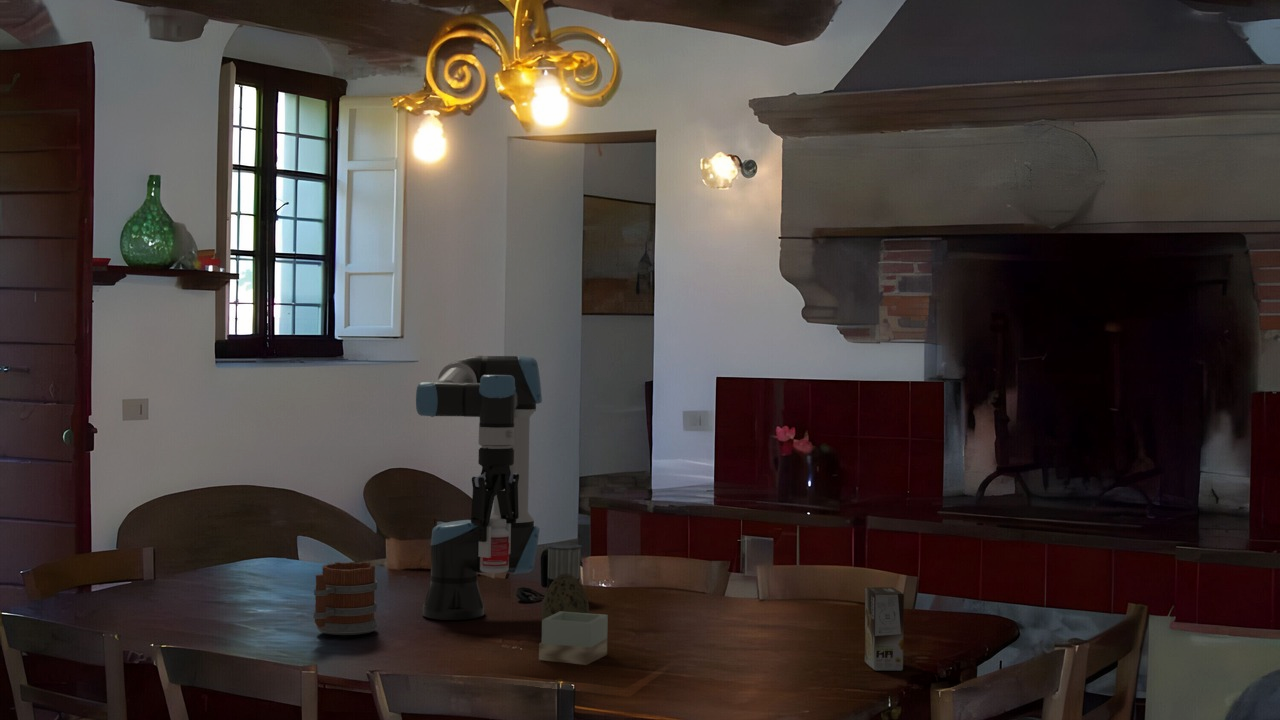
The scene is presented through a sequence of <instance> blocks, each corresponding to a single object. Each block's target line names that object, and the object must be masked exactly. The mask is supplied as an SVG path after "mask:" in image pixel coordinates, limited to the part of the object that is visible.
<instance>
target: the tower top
mask: <svg viewBox="0 0 1280 720" xmlns="http://www.w3.org/2000/svg"><path fill="white" fill-rule="evenodd" d="M608 619H609V616H608V614H600V613H590V612H589V613H577V612H563V611H560V612H558V613H555V614H553V615H551V616H549V617H547V618H545V619H543V620H542V619H541V642H542V644H553V645H565V646H577V647H589V648H591V647H593V646H595V645H596V644H598V643H600V642H601V641H603V640H605V639H606V638H607V639H608V629H609V628H608V625H609V624H608V623H609V621H608Z"/></svg>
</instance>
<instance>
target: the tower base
mask: <svg viewBox="0 0 1280 720" xmlns="http://www.w3.org/2000/svg"><path fill="white" fill-rule="evenodd" d="M607 655H608V637H607V638H606V639H605V640H603V641H601V642H600V643H598V644H596V645H595V646H593V647H591V648H589V647H577V646H565V645H553V644H542V641H541V642H539V643H538V660H539V661H546V662H556V663H563V664H564V663H565V664H567V663H568V664H575V665H585V666H587V665H590V664H591V663H593V662H595V661H597V660H600V659H601V658H604V657H605V656H607Z"/></svg>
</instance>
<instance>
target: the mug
mask: <svg viewBox="0 0 1280 720" xmlns="http://www.w3.org/2000/svg"><path fill="white" fill-rule="evenodd" d="M321 573H322V574H316V575H315V588H314V591H313V595H314V596H315V597H314V598H315V605H314V606H315V609H314V610H315V611H313V619H314V623H315V625H316V626H317V627H316V628H317V630H318V632H320V633H322V634H327V635H333V636H353V635H354V636H355V635H363V634H369V633H372V632H375V631H376V630H377V629H379V625H378V623H377V621H376V619H375V613H376V612H377V609H378V608H377V607H378V605H377V603H378V602H376V601H375V591H376V590H377V589H378V580H377V579H376V578H375V577H376V576H375V575H376V565H375V564H374V563H371V562H367V561H362V562H354V561H349V562H339V561H336V562H334V563H329V564H324V565H323V566H322V572H321Z"/></svg>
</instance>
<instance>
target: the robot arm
mask: <svg viewBox="0 0 1280 720" xmlns="http://www.w3.org/2000/svg"><path fill="white" fill-rule="evenodd" d="M541 385H542V384H541V377H540V369H539V364H538V361H537V359H535V358H534V357H532V356H521V355H511V356H510V355H472V356H471V355H470V356H467V357H463V358H460V359H457V360H454V361H452V362H450V363H448V364H447V365H445V366H444V367H443V368H442V369H441V371H440V372H439V374H438V377H437V381H426V382H425V381H424V382H423V381H422V382H419V383H418V384H417V387H416V392H415V408H416V412H417V414H418V415H419V416H423V417H431V418H435V417H463V418H464V417H465V418H467V417H468V418H469V417H470V418H479V423H478V424H479V425H478V445H479V446H481V447H479V449H478V465H479V466H481V472H480V474H479V475H478V476H472V478H471V483H472V484H471V485H472V498H471V513H470V519H462V520H455V521H454V520H453V521H449V522H443V523H440V524H438V525H435V526H434V527H433V528H432V531H431V541H430V544H429V545H430V546H431V547H430V549H431V550H430V583H429V588H428V591H427V592H426V597H425V599H424V603H423V605H422V616H424V618H427V619H432V620H433V619H434V620H441V621H442V620H445V621H446V620H447V621H459V620H460V621H461V620H471V619H477V618H480V617H481V618H482V617H483V616H484V615H485V605H484V602H483V598H482V594H481V591H480V588H479V583H478V579H479V578H478V577H479V576H478V575H479V574H487V573H486V572H482V571H481V570H480V557H486V558H490V557H491V527H490V526H488V525H489V520H490V519H506V526H505V529H506V530H507V531H508V532H509V570H508V571H507V572H502V573H501V574H513V575H516V574H528V573H530V572H532V571H533V569H534V568H535V563H536V562H535V561H536V556H537V551H538V543H539V535H540V527H539V526H537V525H535V522H534V521H535V519H534V518H533V517H532V516H531V514H530V513H529V480H530V479H529V477H530V475H529V474H530V473H529V472H530V471H529V470H530V422H531V421H530V418H531V416H532V415H533V414H534V413H535V412H536V411H537V405H539V404H541V403H542V402H543V398H542V397H543V396H542V387H541ZM492 510H493V512H492Z"/></svg>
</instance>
